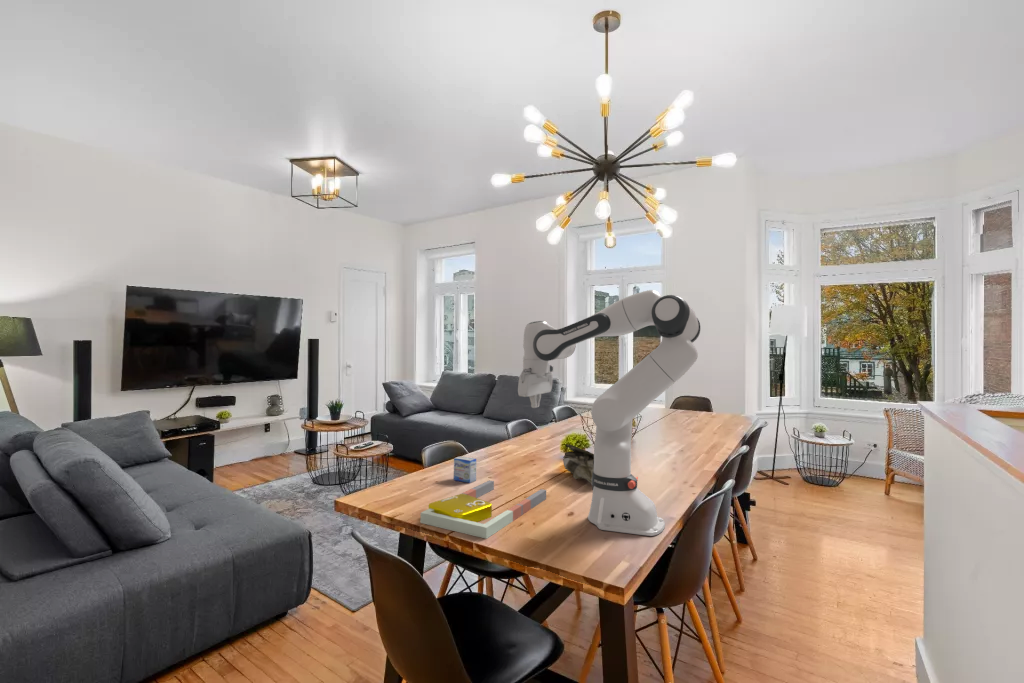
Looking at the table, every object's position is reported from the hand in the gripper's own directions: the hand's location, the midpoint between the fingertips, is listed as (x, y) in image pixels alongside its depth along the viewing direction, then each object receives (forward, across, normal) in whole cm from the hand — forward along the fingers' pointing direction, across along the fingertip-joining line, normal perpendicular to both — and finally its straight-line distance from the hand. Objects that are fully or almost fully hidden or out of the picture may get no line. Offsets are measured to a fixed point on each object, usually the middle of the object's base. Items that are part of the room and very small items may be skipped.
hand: (535, 407), depth 168 cm
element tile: (+32, -28, +12) cm, 44 cm away
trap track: (+31, -19, +7) cm, 37 cm away
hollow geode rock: (+31, +31, -8) cm, 45 cm away
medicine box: (+31, +4, +32) cm, 45 cm away
